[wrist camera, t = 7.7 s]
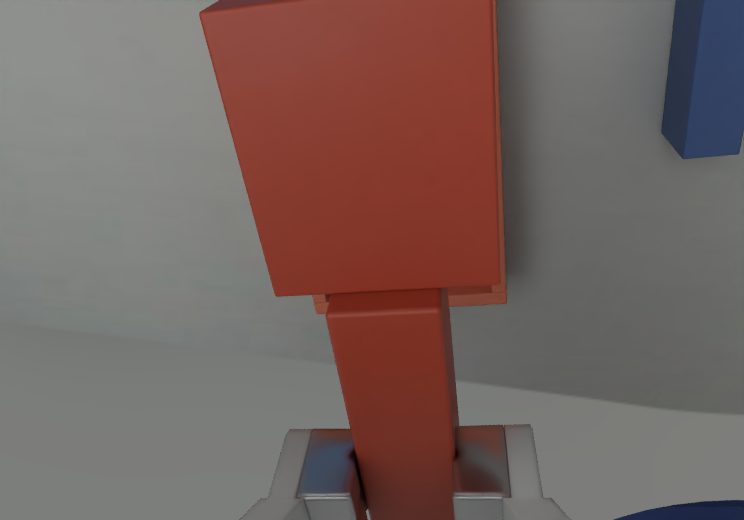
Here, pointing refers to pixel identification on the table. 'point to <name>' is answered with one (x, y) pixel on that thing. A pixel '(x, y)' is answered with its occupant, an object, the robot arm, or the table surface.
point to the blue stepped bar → (706, 79)
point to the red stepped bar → (372, 202)
